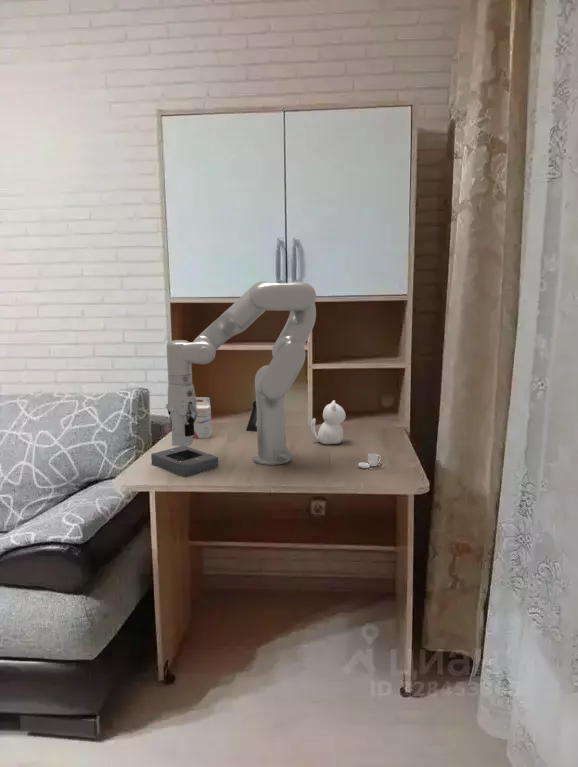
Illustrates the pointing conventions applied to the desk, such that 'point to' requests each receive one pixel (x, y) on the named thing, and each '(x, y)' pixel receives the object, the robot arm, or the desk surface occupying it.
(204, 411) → the ink cartridge box
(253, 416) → the phone stand
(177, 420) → the skincare box
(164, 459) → the grey rectangular frame
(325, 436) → the cat figurine
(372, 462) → the teacup and saucer
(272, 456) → the robot arm
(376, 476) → the desk surface
